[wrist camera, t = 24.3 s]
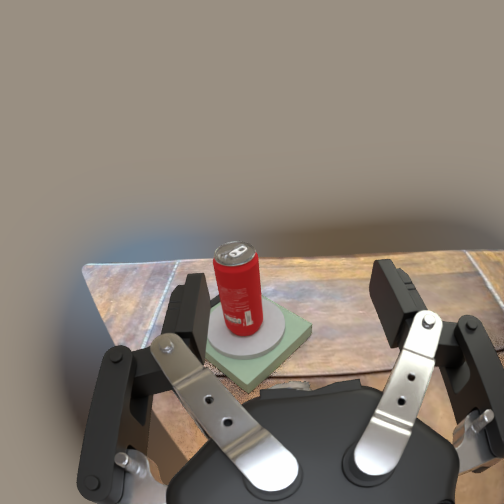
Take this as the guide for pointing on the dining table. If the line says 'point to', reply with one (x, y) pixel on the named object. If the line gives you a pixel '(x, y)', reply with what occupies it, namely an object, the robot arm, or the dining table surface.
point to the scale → (254, 344)
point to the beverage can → (239, 287)
